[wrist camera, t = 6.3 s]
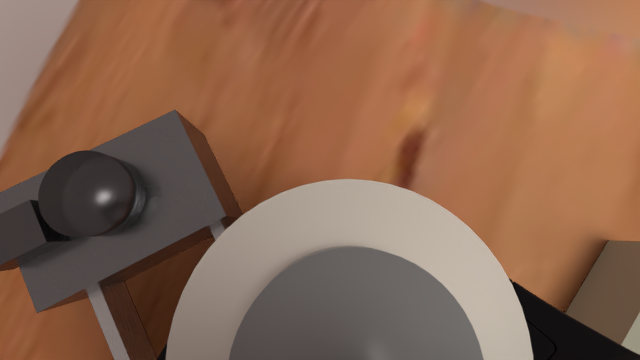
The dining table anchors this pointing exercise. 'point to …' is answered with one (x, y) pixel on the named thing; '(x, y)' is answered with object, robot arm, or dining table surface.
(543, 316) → the robot arm
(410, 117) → the dining table surface
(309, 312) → the white capped bottle
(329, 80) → the dining table surface
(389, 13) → the dining table surface
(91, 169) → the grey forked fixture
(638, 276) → the rectangular open frame
